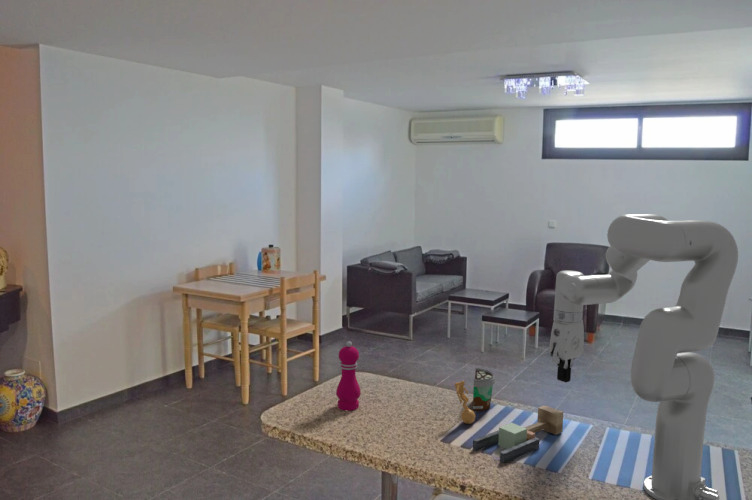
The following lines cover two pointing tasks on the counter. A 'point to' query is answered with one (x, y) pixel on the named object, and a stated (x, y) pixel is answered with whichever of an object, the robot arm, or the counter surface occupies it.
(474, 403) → the food container
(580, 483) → the counter surface
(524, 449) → the dark grey rails
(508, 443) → the block
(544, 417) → the tan pedestal
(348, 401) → the pepper mill
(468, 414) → the figurine
